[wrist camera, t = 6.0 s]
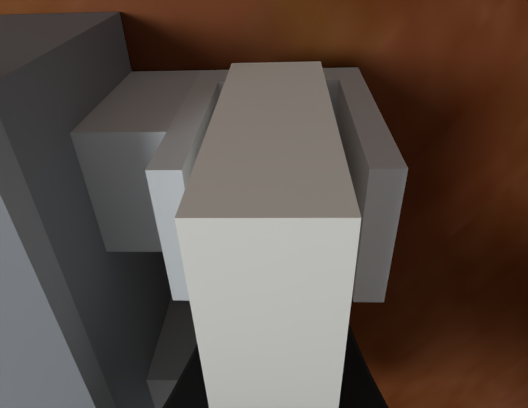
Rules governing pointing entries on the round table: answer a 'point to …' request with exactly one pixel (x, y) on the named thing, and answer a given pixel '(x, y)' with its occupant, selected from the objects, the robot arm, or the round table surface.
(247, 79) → the door panel
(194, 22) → the round table surface
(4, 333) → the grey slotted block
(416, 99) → the round table surface
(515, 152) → the round table surface
